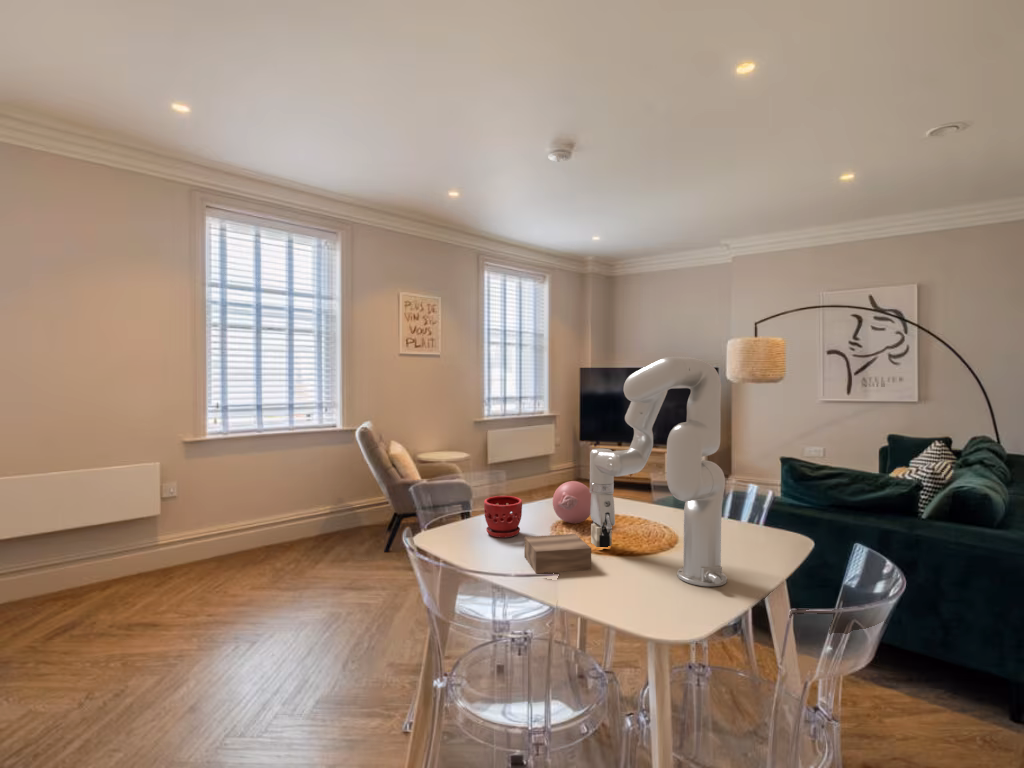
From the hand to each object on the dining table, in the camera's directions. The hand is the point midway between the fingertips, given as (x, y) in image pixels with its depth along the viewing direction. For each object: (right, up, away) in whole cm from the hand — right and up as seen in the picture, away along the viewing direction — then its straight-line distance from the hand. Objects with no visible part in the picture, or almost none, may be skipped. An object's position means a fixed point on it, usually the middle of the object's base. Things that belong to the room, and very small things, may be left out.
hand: (601, 544), depth 170 cm
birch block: (0, -1, 0) cm, 1 cm away
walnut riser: (-15, -1, -14) cm, 21 cm away
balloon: (-7, -1, +27) cm, 28 cm away
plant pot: (-31, -1, +14) cm, 34 cm away
